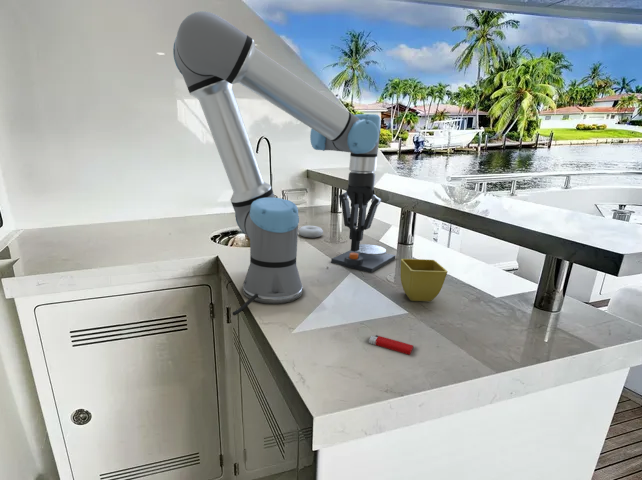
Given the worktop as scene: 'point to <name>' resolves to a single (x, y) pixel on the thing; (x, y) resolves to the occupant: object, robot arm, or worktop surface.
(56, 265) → the worktop surface
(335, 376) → the worktop surface
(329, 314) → the worktop surface
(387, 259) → the scale
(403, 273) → the flower pot
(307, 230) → the donut
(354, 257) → the tare button
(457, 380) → the worktop surface
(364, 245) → the scale pan
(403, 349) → the lighter
